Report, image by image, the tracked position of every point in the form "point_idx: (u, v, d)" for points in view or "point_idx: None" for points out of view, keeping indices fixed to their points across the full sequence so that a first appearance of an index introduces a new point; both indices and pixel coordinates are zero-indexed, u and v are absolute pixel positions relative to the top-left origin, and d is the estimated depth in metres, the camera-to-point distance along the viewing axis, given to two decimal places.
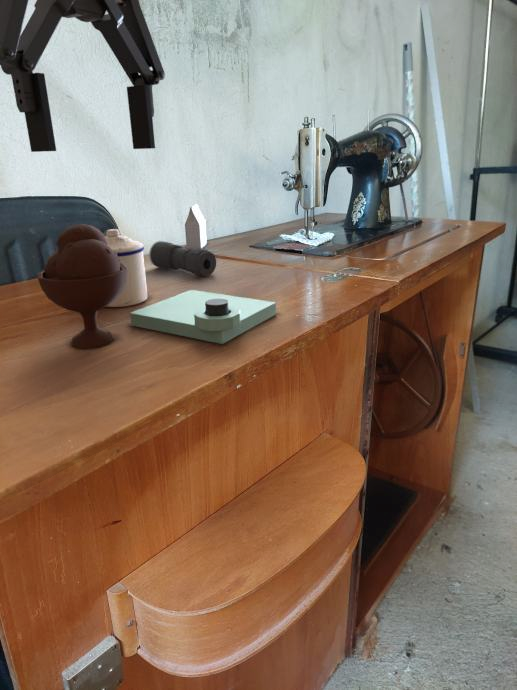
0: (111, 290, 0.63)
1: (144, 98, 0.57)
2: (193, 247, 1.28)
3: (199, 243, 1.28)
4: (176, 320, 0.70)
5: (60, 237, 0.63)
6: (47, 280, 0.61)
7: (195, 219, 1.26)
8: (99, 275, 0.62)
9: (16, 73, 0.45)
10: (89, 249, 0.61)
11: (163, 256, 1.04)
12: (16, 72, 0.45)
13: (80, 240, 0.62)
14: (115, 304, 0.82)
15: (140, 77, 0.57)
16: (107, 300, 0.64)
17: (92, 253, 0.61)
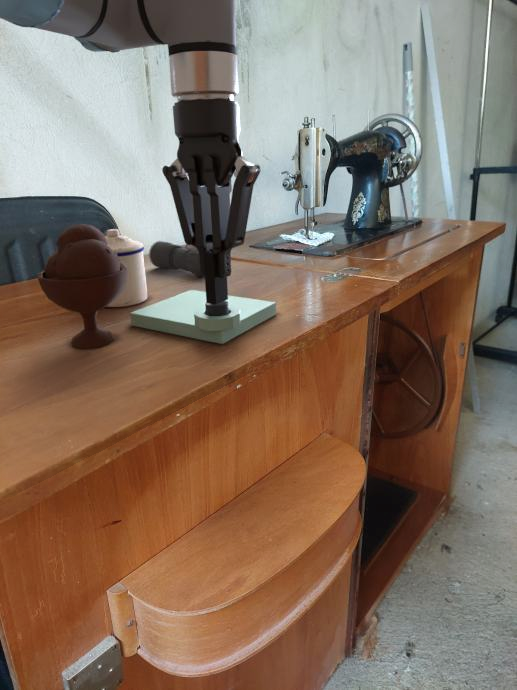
0: (111, 290, 0.63)
1: None
2: (193, 247, 1.28)
3: None
4: (176, 320, 0.70)
5: (60, 237, 0.63)
6: (47, 280, 0.61)
7: None
8: (99, 275, 0.62)
9: (228, 252, 0.64)
10: (89, 249, 0.61)
11: (162, 256, 1.04)
12: (228, 251, 0.64)
13: (80, 240, 0.62)
14: (115, 304, 0.82)
15: (208, 240, 0.65)
16: (107, 300, 0.64)
17: (92, 253, 0.61)
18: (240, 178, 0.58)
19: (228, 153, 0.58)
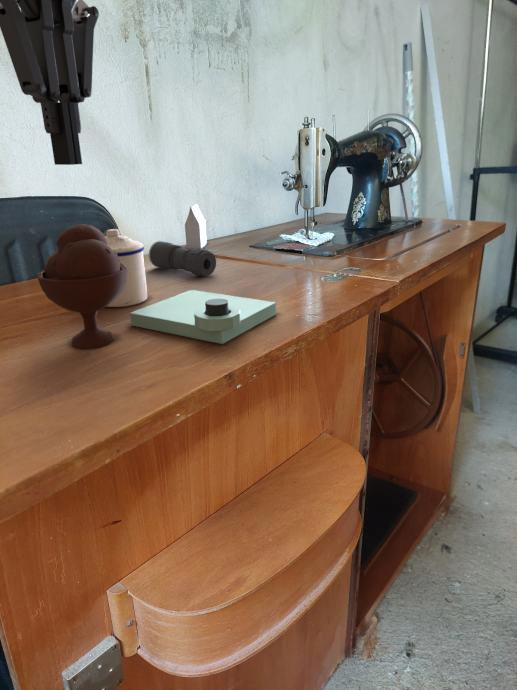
0: (111, 290, 0.63)
1: None
2: (193, 247, 1.28)
3: (199, 243, 1.28)
4: (176, 320, 0.70)
5: (60, 237, 0.63)
6: (47, 280, 0.61)
7: (195, 219, 1.26)
8: (99, 275, 0.62)
9: None
10: (89, 249, 0.61)
11: (162, 256, 1.04)
12: None
13: (80, 240, 0.62)
14: (115, 304, 0.82)
15: None
16: (107, 300, 0.64)
17: (92, 253, 0.61)
18: (91, 19, 0.58)
19: None
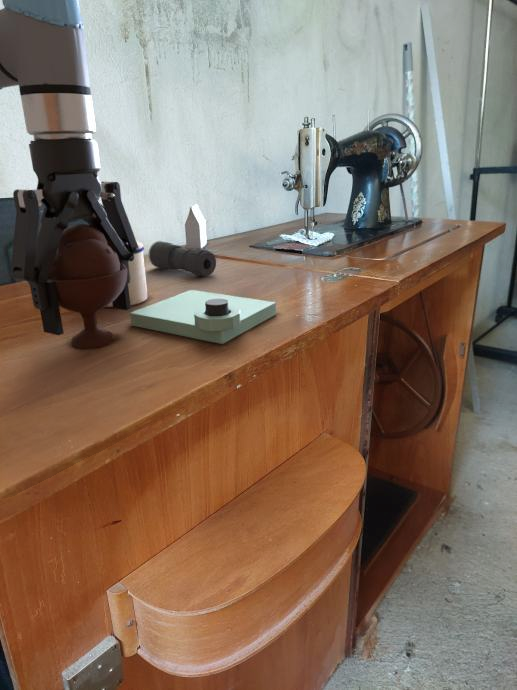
0: (111, 290, 0.63)
1: None
2: (193, 247, 1.28)
3: (199, 243, 1.28)
4: (176, 320, 0.70)
5: None
6: None
7: (195, 219, 1.26)
8: (99, 275, 0.62)
9: None
10: (89, 249, 0.61)
11: (162, 256, 1.04)
12: None
13: (80, 240, 0.62)
14: None
15: None
16: (107, 300, 0.64)
17: (92, 253, 0.61)
18: (117, 195, 0.66)
19: (98, 185, 0.64)
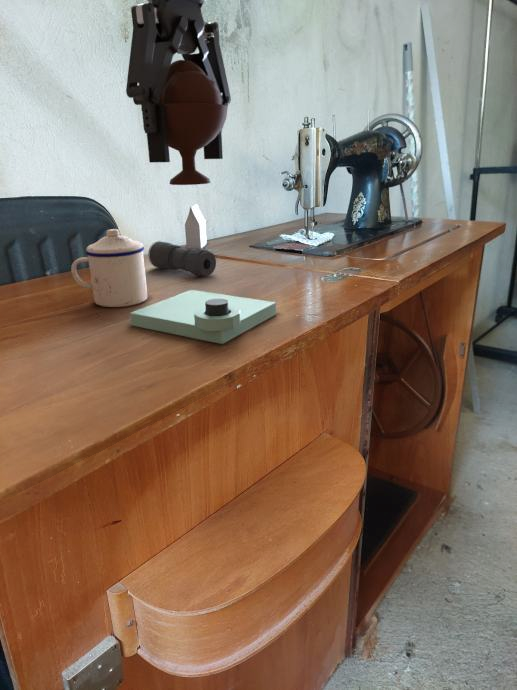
0: (215, 121, 0.65)
1: None
2: (193, 247, 1.28)
3: (199, 243, 1.28)
4: (176, 320, 0.70)
5: None
6: None
7: (195, 219, 1.26)
8: (206, 103, 0.63)
9: None
10: (197, 76, 0.63)
11: (162, 257, 1.04)
12: None
13: (186, 70, 0.64)
14: (115, 304, 0.82)
15: None
16: (210, 133, 0.66)
17: (200, 80, 0.63)
18: (216, 36, 0.68)
19: (202, 20, 0.65)
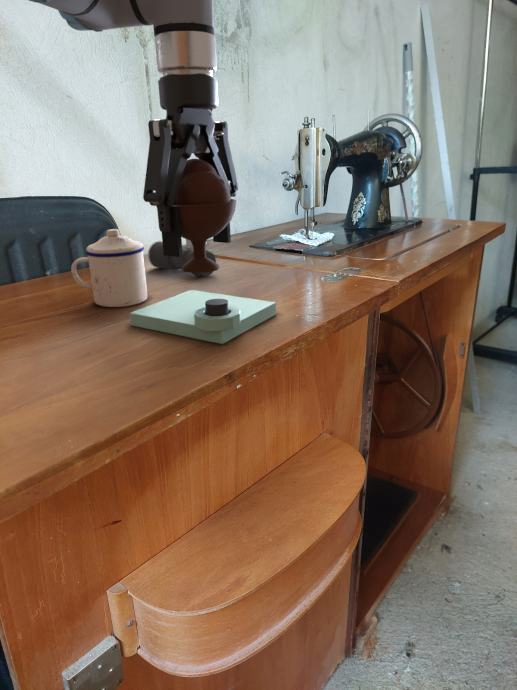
0: (225, 217, 0.69)
1: None
2: None
3: None
4: (176, 320, 0.70)
5: None
6: None
7: None
8: (216, 202, 0.68)
9: None
10: (208, 178, 0.68)
11: (162, 257, 1.04)
12: None
13: (198, 171, 0.69)
14: (115, 304, 0.82)
15: None
16: (220, 227, 0.70)
17: (211, 182, 0.68)
18: (225, 133, 0.73)
19: (212, 122, 0.70)
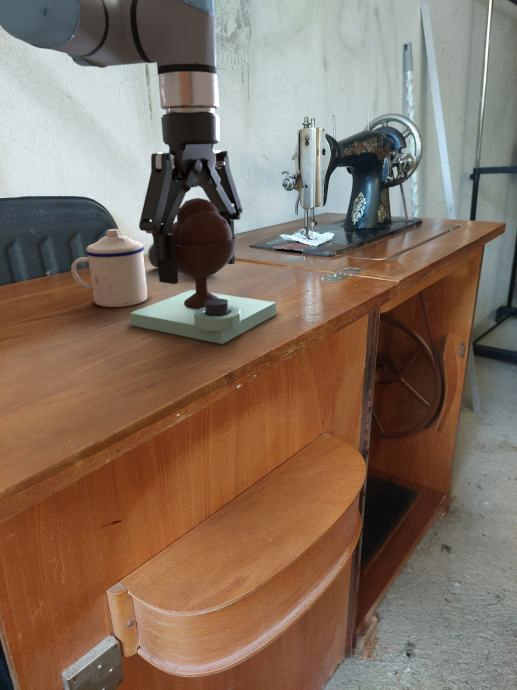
0: (227, 256, 0.71)
1: None
2: None
3: None
4: (176, 320, 0.70)
5: (181, 209, 0.71)
6: None
7: None
8: (218, 242, 0.70)
9: None
10: (211, 219, 0.70)
11: None
12: None
13: (200, 211, 0.71)
14: (115, 304, 0.82)
15: None
16: (222, 265, 0.72)
17: (213, 223, 0.69)
18: (226, 162, 0.74)
19: (213, 155, 0.72)
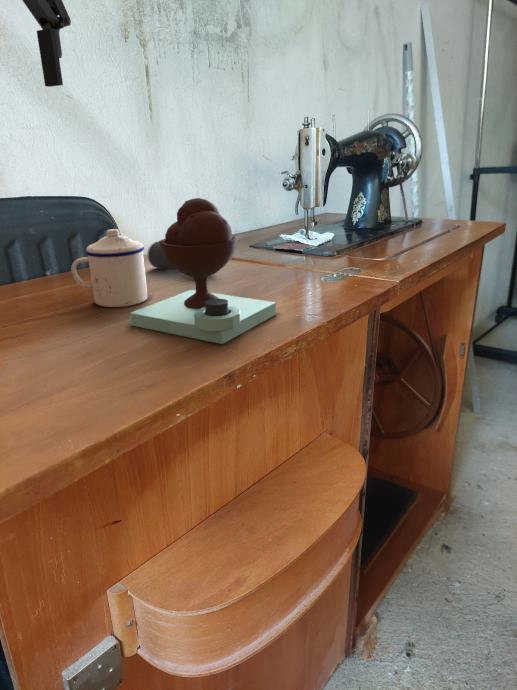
0: (227, 256, 0.71)
1: None
2: None
3: None
4: (176, 320, 0.70)
5: (182, 209, 0.71)
6: (174, 246, 0.69)
7: None
8: (218, 242, 0.70)
9: None
10: (211, 219, 0.70)
11: (161, 257, 1.04)
12: None
13: (200, 211, 0.71)
14: (115, 304, 0.82)
15: None
16: (222, 265, 0.72)
17: (213, 223, 0.69)
18: None
19: None
